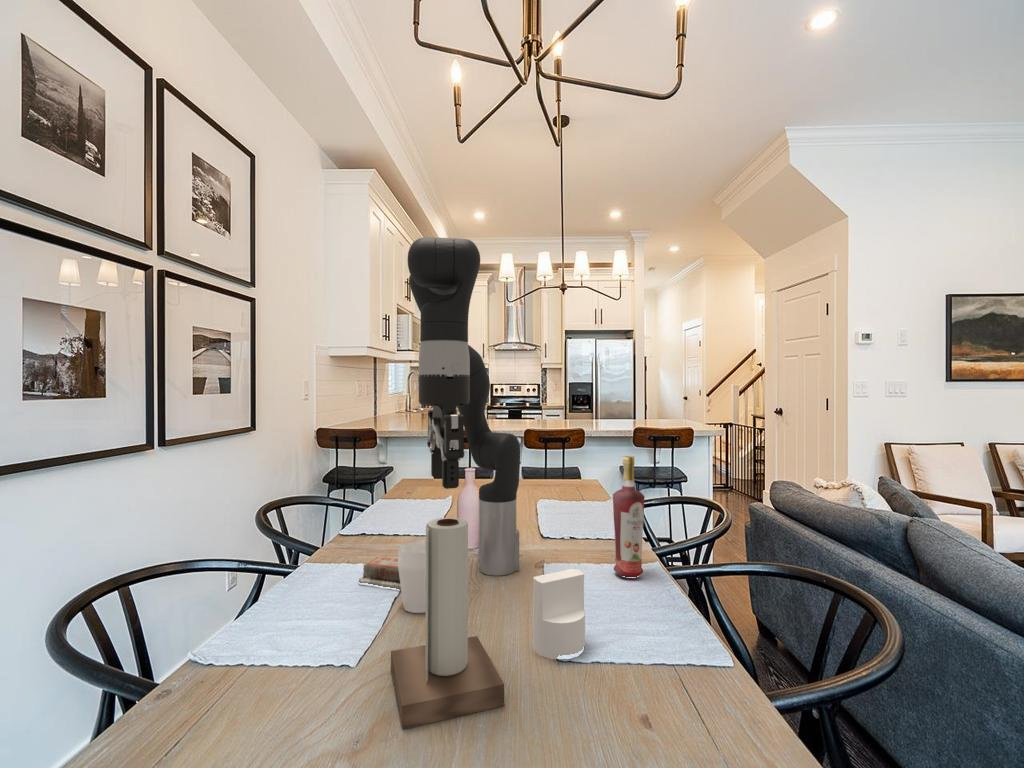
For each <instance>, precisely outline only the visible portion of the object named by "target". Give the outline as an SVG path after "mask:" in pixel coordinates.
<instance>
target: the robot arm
mask: <svg viewBox="0 0 1024 768" xmlns="http://www.w3.org/2000/svg"><path fill="white" fill-rule="evenodd" d="M480 266H481V254H480V251H479V249H478V246H477V245H476V243H474V242H473V241H472V240H470V239H468V238H453V237H434V236H432V237H431V236H424V237H420V238H418V239H415V240H414V241H413V242H412V244H410V247H409V249H408V252H407V267H408V271H409V278H408V282H409V283H408V284H409V287H410V291H411V293H412V296H413V299H414V301H415V303H416V306H417V308H418V310H419V312H420V334H419V335H420V337H419V338H420V343H419V344H420V345H419V353H418V403H419V404H420V405H422V406H432V409H429V410H428V412H427V447H428V450H429V453H431V455H430V456H431V457H430V459H431V461H430V463H431V464H430V469H431V470H430V472H431V473H430V474H431V477H432V478H435V479H437V478H438V479H439V478H441V480H442V481H441V482H442V483H441V485H442V487H443V488H444V489H446V490H447V489H448V490H449V489H457V488H458V487H459V485H460V482H459V481H460V478H459V477H460V469H459V468H460V465H459V463H460V461H461V459H464V457H465V445H464V444H465V442H464V439H465V437H464V436H465V435H466V440H467V444H468V447H469V451H470V454H471V457H472V460H473V462H474V463H475V464H476V466H477V467H479V468H480V469H484V470H490V471H495V472H494V477H493V481H491V482H489V483H485V484H483V485H481V486H480V487H479V489H478V559H477V560H478V570H479V572H480V573H482V574H484V575H487V576H499V577H500V576H506V575H510V574H512V573H515V572H517V571H518V572H519V571H520V531H519V529H517V493H518V489H519V484H520V469H521V468H520V467H521V466H520V465H521V443H520V442H519V441H520V440H519V439H518V437H517V436H516V435H514V434H513V433H509V432H508V433H507V432H492V430H491V429H490V427H489V424H488V421H487V418H486V406H487V402H488V398H489V394H490V390H491V382H490V378H489V373H488V371H487V369H486V365H485V362H484V360H483V357H482V356H481V354H480V353H479V352H478V351H477V350H476V349H474V347H472V346H471V345H469V313H470V305H471V299H472V294H473V291H474V287H475V284H476V281H477V277H478V274H479V271H480ZM457 409H458V410H457ZM457 411H458V412H457ZM458 413H459V414H458ZM464 432H465V435H464ZM451 448H452V449H451Z"/></svg>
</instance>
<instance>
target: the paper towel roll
mask: <svg viewBox="0 0 1024 768" xmlns="http://www.w3.org/2000/svg"><path fill="white" fill-rule="evenodd" d="M425 540H426V612H425V645H426V649H425V671H426V683H427V681H428V670H429V671H430V672H431V673H433V674H435V675H439V676H450V675H455V674H457V673H460V672H461V671H463V670H464V669H465V668H466V665H467V662H468V636H469V634H468V633H469V627H468V625H469V623H468V622H469V614H468V613H469V607H468V606H469V523H468V520H466V519H464V518H459V517H441V518H434V519H432V520H430V521H428V522H427V524H426V525H425Z"/></svg>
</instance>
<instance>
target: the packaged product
mask: <svg viewBox="0 0 1024 768" xmlns="http://www.w3.org/2000/svg"><path fill="white" fill-rule="evenodd" d="M358 582H360V583H368V584H373V585H378V586H383V587H390V588H396V589H399V590H400V591H399V592H401V585H400V577H399V570H398V558H395V557H387V556H376V557H375V558H373V559H371V560H370V561H368V562H366V563H365V564H363V573H362V577H361V578H359V579H358Z"/></svg>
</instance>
